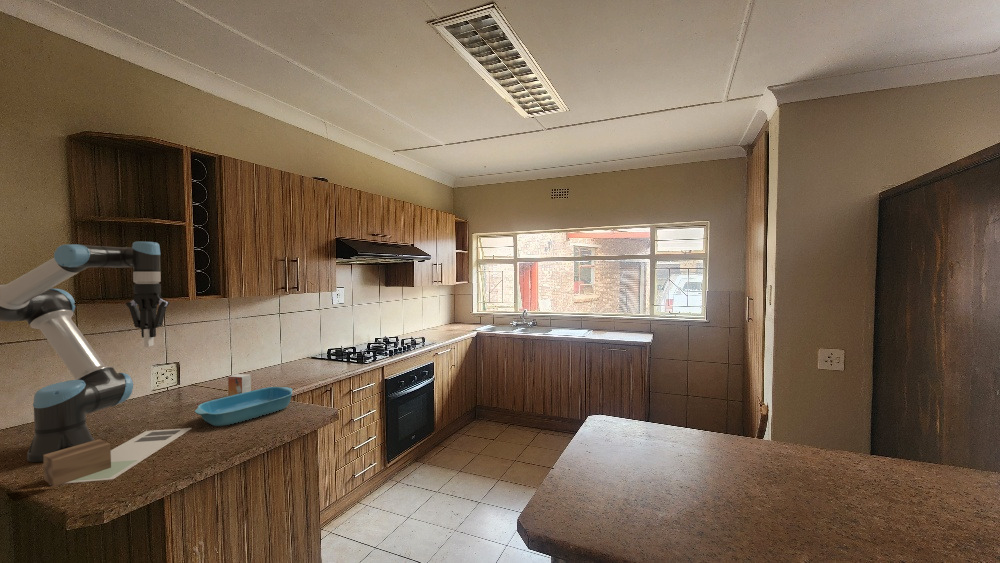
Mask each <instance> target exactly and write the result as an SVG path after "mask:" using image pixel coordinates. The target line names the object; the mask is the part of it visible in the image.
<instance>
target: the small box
mask: <svg viewBox="0 0 1000 563" xmlns="http://www.w3.org/2000/svg"><path fill="white" fill-rule="evenodd" d="M251 375H252V374H248V373H246V374H245V373H236V374H232V375H229V376H227V379H228V380H227V381H228V384H227V385H228V386H227V387H228V391H227V392H228V396H232V395H236V394H240V393H245V392H249V391H252V388H251V387H252V379H251V378H252V376H251ZM228 396H227V397H228Z"/></svg>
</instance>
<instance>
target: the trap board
mask: <svg viewBox="0 0 1000 563" xmlns="http://www.w3.org/2000/svg"><path fill="white" fill-rule="evenodd" d="M192 429H193V428H192V427H188V428H187V427H185V428H173V429H171V428H170V429H169V428H168V429H159V430H158V429H157V430H156V429H155V430H145V431H144V432H142V433H140V434H138V435H136V436H135V437H132V438H131V439H129V440H127V441H126V442H123V443H122V444H120V445H118V446H116V447H114V448H113V449H111V468H108V469H105V470H102V471H99V472H96V473H93V474H90V475H87V476H84V477H81V478H78V479H75V480H72V481H69V482H67V483H66V484H69V486H73V485H75V484H76V483H81V485H82V484H86V483H87V482H93V484H94V483H96V481H97V482H100V481H104V483H105V482H110V481H111V480H114V479H115V478H117V477H119V476H120V475H123V473H125V472H126V471H129V469H131V468H133V467H135V466H136V465H137V464H139V463H141V462H142V461H143V460H145V459H147V458H148V457H150V456H151V455H152V454H154V453H156V452H158V451H159V450H161V449H162V448H163V447H164V448H165V446H167V445H168V444H170V443H172V442H173V441H174V440H176V439H178V438H179V437H181V436H182V435H184V434H186V433H187V432H189V431H190V430H192ZM72 483H73V484H72ZM48 485H50V486H48V487H51V486H52V485H51V484H49V483H48ZM58 486H63V484H61V485H58Z"/></svg>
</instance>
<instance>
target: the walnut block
mask: <svg viewBox="0 0 1000 563" xmlns="http://www.w3.org/2000/svg"><path fill="white" fill-rule="evenodd" d="M111 448H112V447H111V443H109V442H108V441H105V440H103V439H100V438H99V439H94V441H91V442H87V443H84V444H80V445H77V446H73V447H70V448H66V449H62V450H59V451H55V452H52V453H48V454H45V455H43V461H44V462H43V480H44V482H46V483H48V485H49V484H51V485H50V486H51V487H58V486H59V485H65V484H68V483H67V482H69V481H72V480H75V479H78V478H81V477H84V476H87V475H90V474H93V473H96V472H99V471H102V470H105V469H108V468H111V450H112V449H111Z"/></svg>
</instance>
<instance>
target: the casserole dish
mask: <svg viewBox="0 0 1000 563" xmlns="http://www.w3.org/2000/svg"><path fill="white" fill-rule="evenodd" d="M292 396H293V388H291V387H287V386H269V387H267V386H266V387H263V388H258V389H254V390H251V391H249V392H245V393H240V394H236V395H232V396H224V397H221V398H216V399H212V400H209V401H206V402H201V403H199V405H197V408H196V409H195V410H194V413H195V414H197V415H199V416H201V418H202V420H203V421H205V422H206V423H208V424H209V425H212V426H214V427H223V426H227V425H228V426H231V425H230V424H232V425H235V424H234V423H236V424H239V423H242V421H243V422H246V421H245V420H247V421H250V420H253V419H252V418H254V419H255V418H260V417H263V416H262V415H264V416H266V414H267V415H270V414H274V413H276V411H277V412H280V411H282V410H284V409H286V407H288V406H289V404H290V402H291V399H292ZM279 410H280V411H279ZM273 412H274V413H273ZM269 413H270V414H269ZM259 416H260V417H259ZM249 419H250V420H249ZM238 422H239V423H238Z"/></svg>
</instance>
